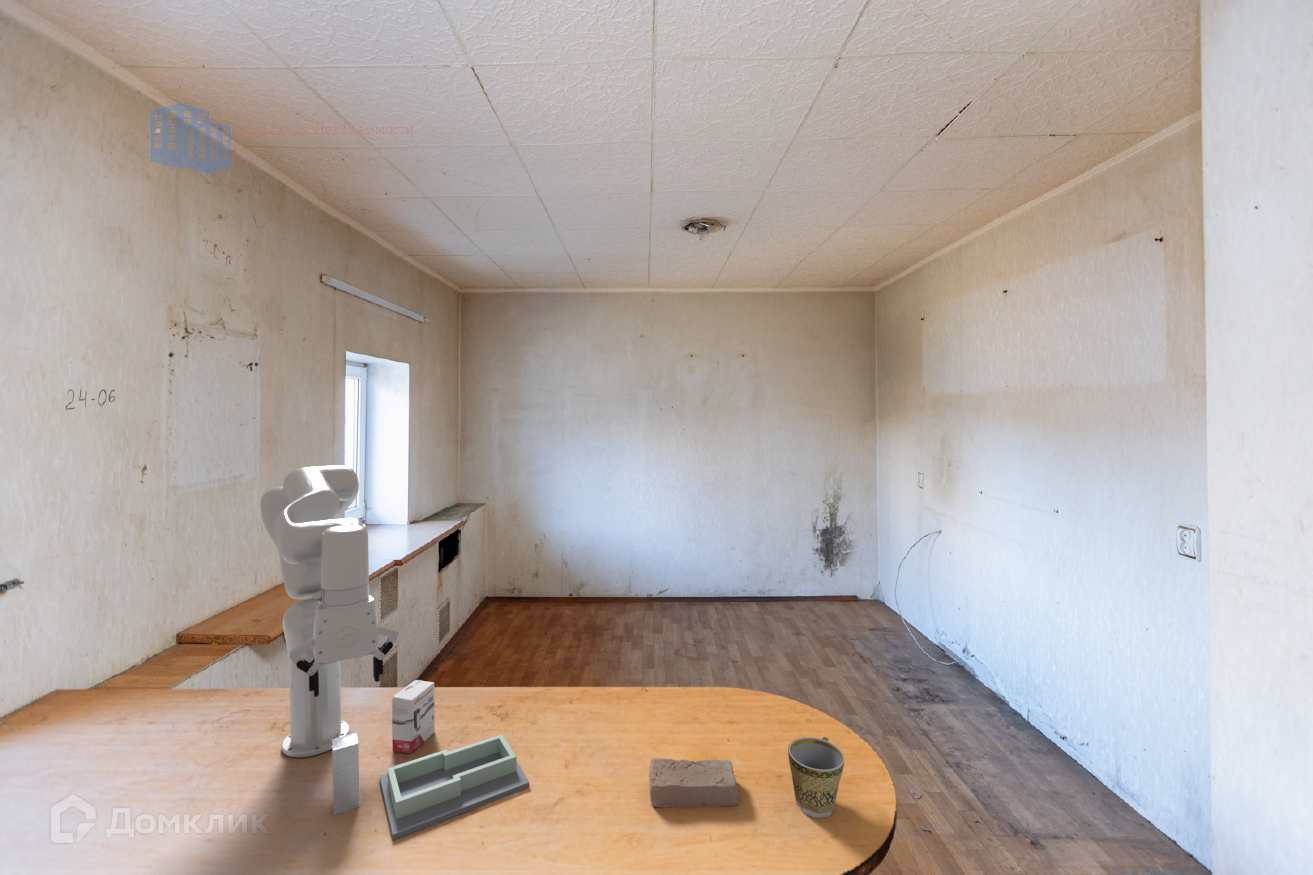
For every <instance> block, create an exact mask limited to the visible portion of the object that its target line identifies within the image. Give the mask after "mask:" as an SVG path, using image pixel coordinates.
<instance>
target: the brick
mask: <svg viewBox="0 0 1313 875" xmlns="http://www.w3.org/2000/svg"><path fill="white" fill-rule="evenodd" d="M648 774H649V775H648V777H649V779H648V780H649V798H650V803H651V806H652V807H656V808H665V809H666V808H670V807H671V808H673V809H676V808H700V807H701V808H702V807H703V808H704V807H707V808H708V807H726V806H728V807H729V806H732V807H733V806H737V805H738V803H739V789H738V785H737V781H736V775H735V772H734V767H733V764H732V761H731V760H729V759H714V758H713V759H712V758H711V759H702V760H697V761H693V760H688V759H680V760H678V759H673V758H660V757H659V758H658V757H653V758H651V759H650V765H649V772H648Z"/></svg>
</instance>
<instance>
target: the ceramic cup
mask: <svg viewBox="0 0 1313 875" xmlns="http://www.w3.org/2000/svg"><path fill="white" fill-rule="evenodd" d="M787 752H788V762H789V768H790V772H791V778H792V785H793V791H794V798H795V802H796V804H797V806H798V807H799V809H800V810H801V812H802V813H803V814H805V815H807V816H809V817H812V818H814V819H823V818H827V817H830V816H831V815H832V813H833V811H834V808H835V805H836V800H837V795H838V791H839V785H840V782H841V779H842V775H843V771H844V765H845V755H844V753H843V752H842V750H841V749H840V748H839V747H838V746H836V745H835V744H834V743H831V742H830V741H829V738H828V737H825V736H824V737H823V738H819V737H818V738H817V737H811V736H810V737H808V736H806V737H799V738H796V739H794V740H792V741H791V742H790V744H789V745H788V749H787Z"/></svg>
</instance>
